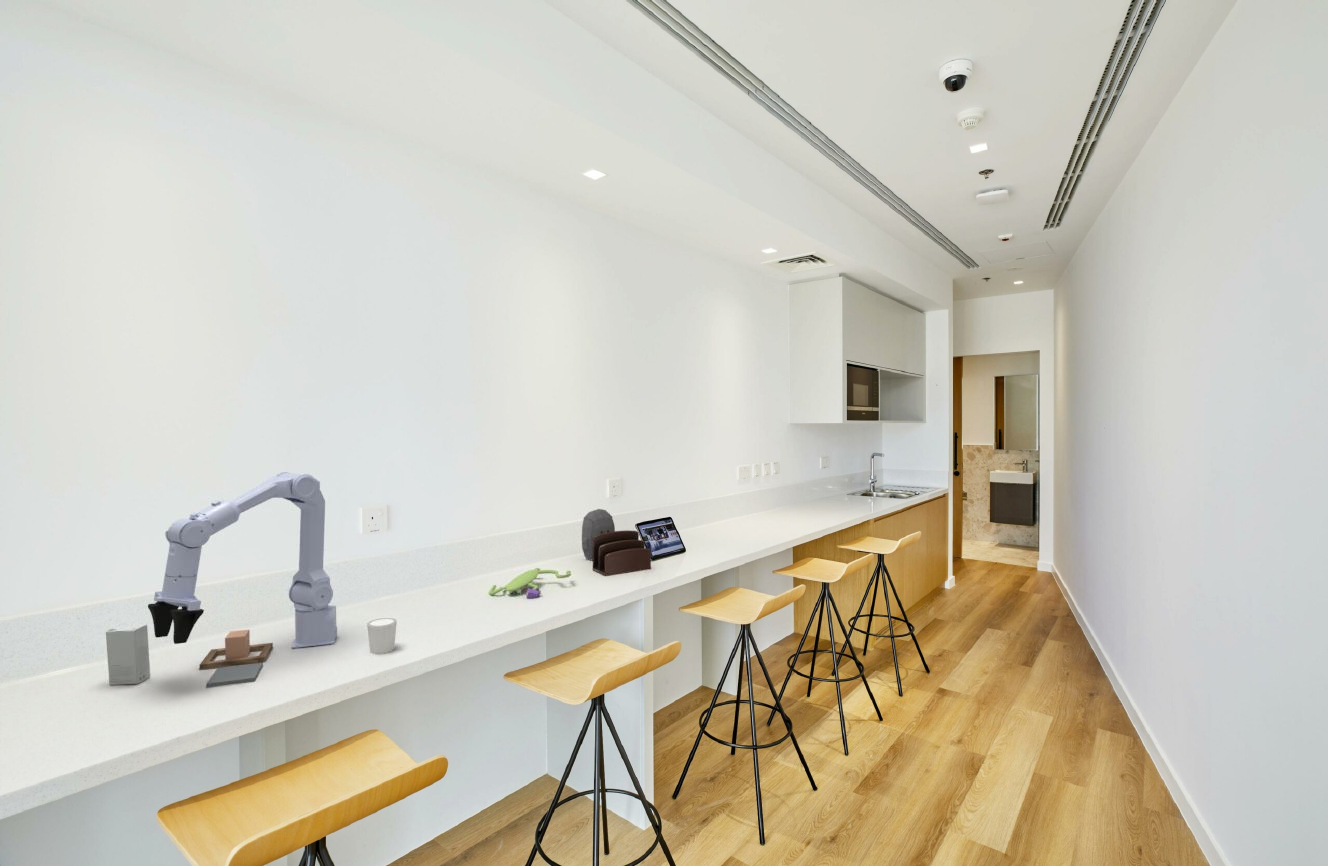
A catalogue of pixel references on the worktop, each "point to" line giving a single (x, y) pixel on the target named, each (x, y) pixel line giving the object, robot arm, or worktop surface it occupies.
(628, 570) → the letter holder
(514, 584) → the figurine
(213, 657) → the walnut frame
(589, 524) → the small grey backpack
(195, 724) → the worktop surface
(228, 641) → the terracotta block
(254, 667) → the slate mat
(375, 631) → the light grey cup
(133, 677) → the skincare box
